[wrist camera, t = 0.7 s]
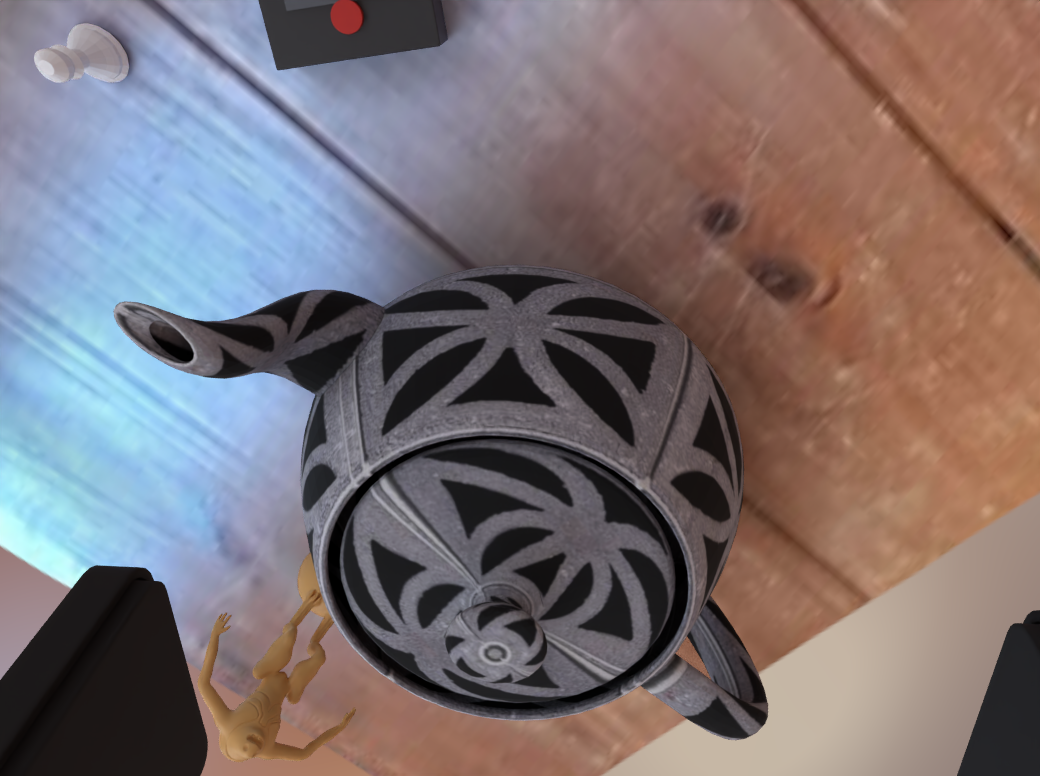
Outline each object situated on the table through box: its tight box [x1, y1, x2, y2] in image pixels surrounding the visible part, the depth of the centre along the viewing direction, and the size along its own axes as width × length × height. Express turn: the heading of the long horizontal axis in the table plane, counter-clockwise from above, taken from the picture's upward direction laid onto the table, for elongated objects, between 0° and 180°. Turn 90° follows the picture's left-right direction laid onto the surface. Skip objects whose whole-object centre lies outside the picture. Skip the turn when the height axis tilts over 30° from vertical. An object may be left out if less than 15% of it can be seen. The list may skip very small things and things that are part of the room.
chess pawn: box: [34, 23, 129, 83], centre depth 34 cm, size 3×2×4 cm
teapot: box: [114, 265, 768, 740], centre depth 35 cm, size 19×31×15 cm, turn 49°
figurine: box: [198, 552, 356, 762], centre depth 42 cm, size 8×6×12 cm
